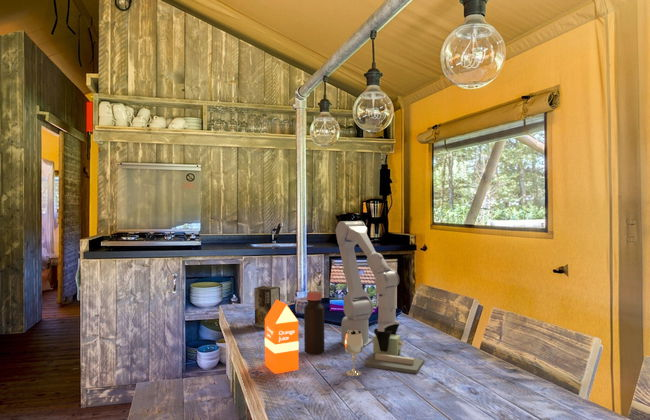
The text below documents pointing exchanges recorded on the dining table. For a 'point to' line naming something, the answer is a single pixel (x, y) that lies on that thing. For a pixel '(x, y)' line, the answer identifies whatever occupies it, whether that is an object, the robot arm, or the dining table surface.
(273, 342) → the orange juice
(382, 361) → the cleat board
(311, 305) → the bottle
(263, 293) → the coffee box
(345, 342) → the wineglass
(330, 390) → the dining table surface
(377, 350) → the cabinet block
